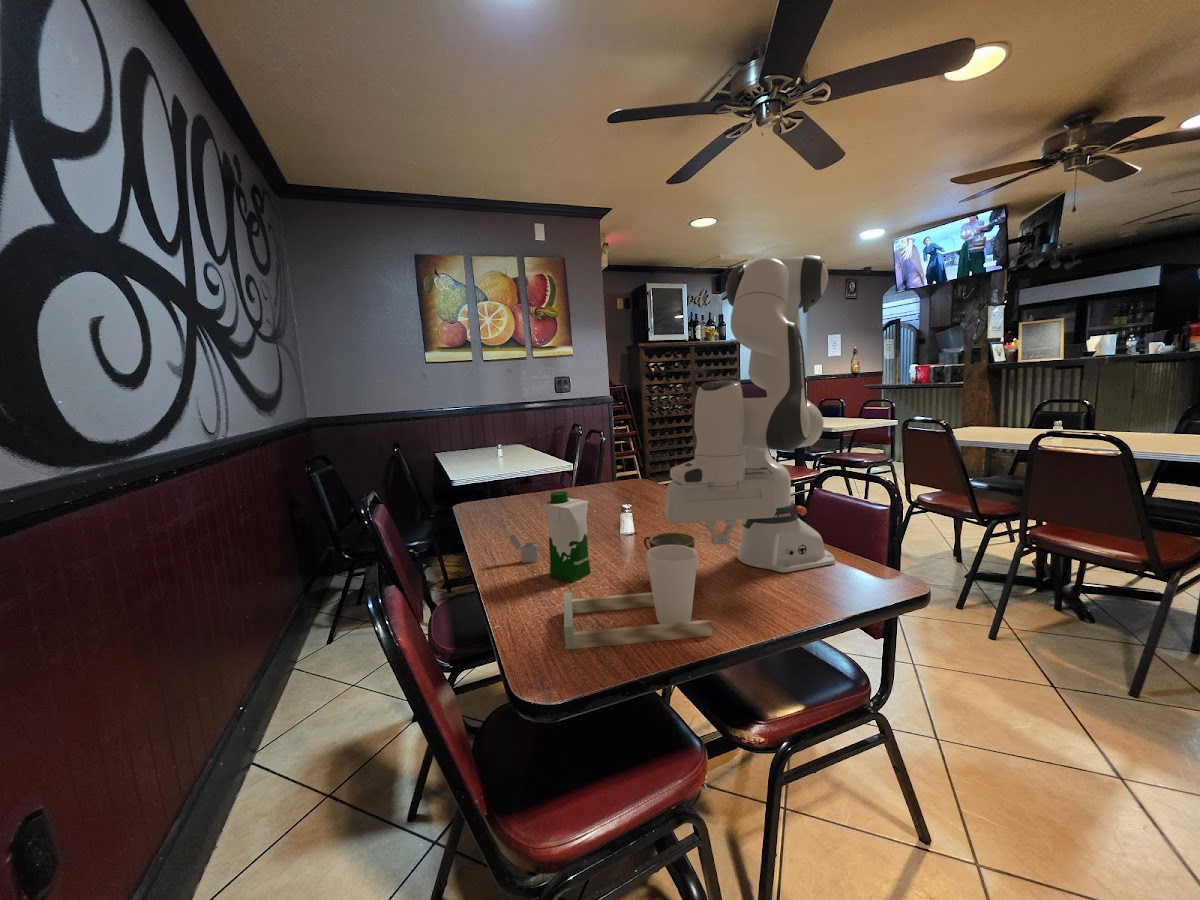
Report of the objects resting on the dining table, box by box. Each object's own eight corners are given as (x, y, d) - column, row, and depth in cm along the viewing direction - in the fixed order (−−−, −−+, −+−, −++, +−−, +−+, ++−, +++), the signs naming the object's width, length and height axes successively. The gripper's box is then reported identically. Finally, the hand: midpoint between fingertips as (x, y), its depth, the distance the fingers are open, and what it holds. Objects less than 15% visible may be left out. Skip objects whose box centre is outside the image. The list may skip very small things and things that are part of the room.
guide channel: (689, 600, 94) (689, 589, 94) (711, 635, 80) (711, 622, 80) (572, 611, 92) (571, 599, 92) (574, 648, 78) (573, 634, 78)
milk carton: (568, 565, 117) (563, 488, 115) (596, 572, 112) (592, 491, 109) (544, 577, 110) (538, 496, 108) (573, 585, 105) (567, 499, 102)
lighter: (538, 559, 123) (536, 530, 122) (537, 561, 121) (535, 532, 120) (511, 561, 123) (509, 532, 122) (510, 564, 121) (508, 534, 120)
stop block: (572, 611, 92) (571, 592, 92) (574, 648, 78) (573, 626, 78) (565, 611, 92) (563, 592, 92) (565, 649, 78) (564, 627, 78)
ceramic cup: (704, 580, 104) (703, 537, 102) (678, 595, 97) (677, 549, 95) (658, 567, 113) (657, 528, 112) (632, 580, 106) (630, 538, 105)
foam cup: (665, 637, 81) (662, 565, 79) (640, 615, 89) (637, 550, 88) (709, 623, 84) (708, 555, 83) (681, 604, 93) (679, 541, 91)
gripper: (767, 464, 88) (767, 535, 89) (661, 469, 86) (663, 541, 88) (782, 469, 82) (782, 544, 83) (669, 474, 80) (671, 551, 81)
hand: (720, 543), depth 85 cm, fingers closed
